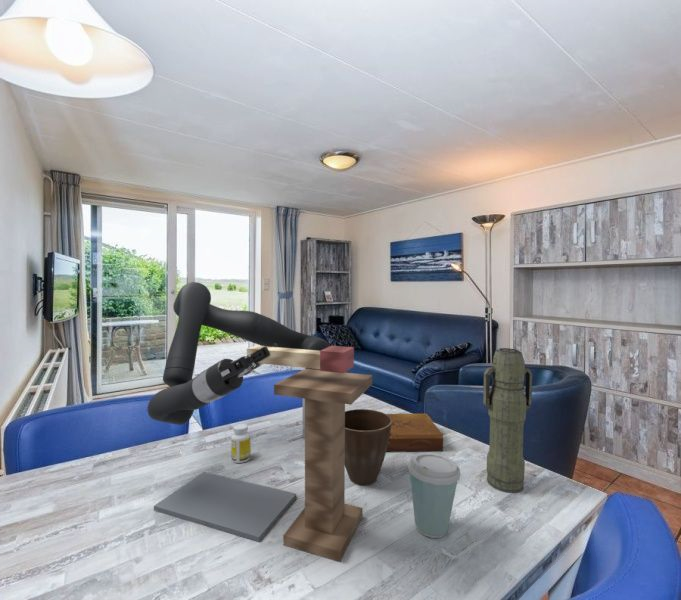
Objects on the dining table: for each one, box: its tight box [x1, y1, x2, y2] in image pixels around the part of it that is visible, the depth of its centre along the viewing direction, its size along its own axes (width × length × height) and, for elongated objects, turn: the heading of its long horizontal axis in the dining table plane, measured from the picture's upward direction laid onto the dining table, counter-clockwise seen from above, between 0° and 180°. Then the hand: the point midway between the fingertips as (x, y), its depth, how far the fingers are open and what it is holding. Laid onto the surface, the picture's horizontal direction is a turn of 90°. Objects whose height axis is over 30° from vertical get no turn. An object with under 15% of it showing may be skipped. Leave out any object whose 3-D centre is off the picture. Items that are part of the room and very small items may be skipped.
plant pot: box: [345, 408, 392, 486], centre depth 96 cm, size 15×15×16 cm
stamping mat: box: [153, 471, 297, 543], centre depth 85 cm, size 28×16×1 cm, turn 69°
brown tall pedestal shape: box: [273, 368, 373, 563], centre depth 75 cm, size 16×14×32 cm
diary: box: [386, 413, 444, 453], centre depth 120 cm, size 23×19×6 cm
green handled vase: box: [482, 347, 533, 494], centre depth 93 cm, size 9×12×35 cm
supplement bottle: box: [230, 423, 251, 464], centre depth 106 cm, size 5×5×10 cm
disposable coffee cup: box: [407, 452, 461, 539], centre depth 76 cm, size 11×11×15 cm
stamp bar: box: [246, 345, 355, 373], centre depth 76 cm, size 23×6×4 cm, turn 69°
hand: (272, 349), depth 79 cm, fingers closed on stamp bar, 3 cm apart
